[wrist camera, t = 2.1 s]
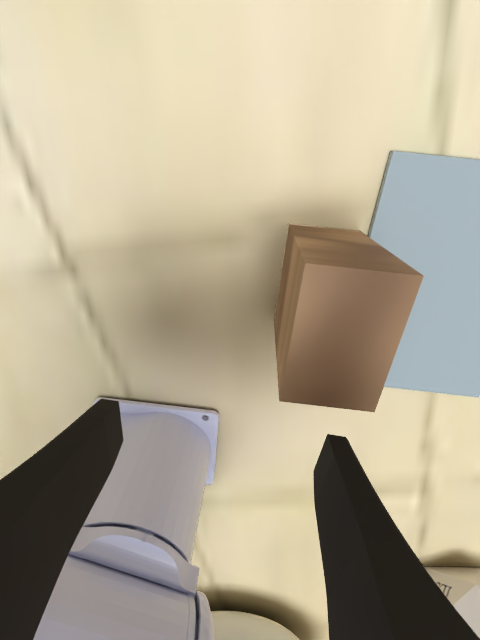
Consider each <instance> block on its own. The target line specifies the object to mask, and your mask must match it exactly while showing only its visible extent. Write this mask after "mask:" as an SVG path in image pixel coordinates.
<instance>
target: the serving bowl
mask: <svg viewBox="0 0 480 640" xmlns="http://www.w3.org/2000/svg"><path fill="white" fill-rule="evenodd" d="M211 614H212V617H213V622H214V640H300V639H299V638H298V637H297V636H296V635H294V634H293V633H292V632H291V631H290V630H288V629H287V628H285V627H284V626H282V625H280V624H279V623H277V622H275V621H272V620H270V619H267V618H265V617H262V616H258V615H254V614H250V613H245V612H239V611H211Z"/></svg>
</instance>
